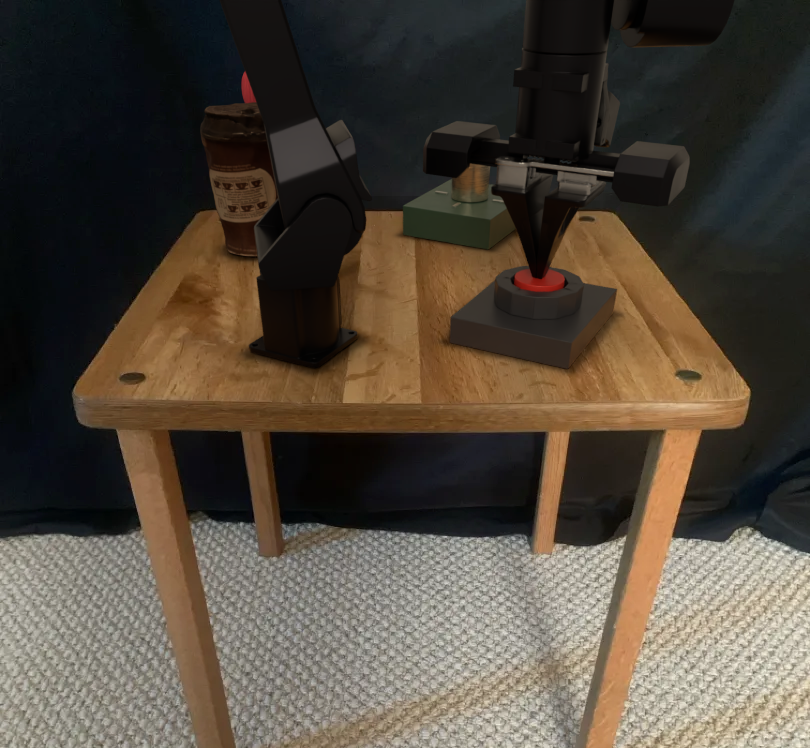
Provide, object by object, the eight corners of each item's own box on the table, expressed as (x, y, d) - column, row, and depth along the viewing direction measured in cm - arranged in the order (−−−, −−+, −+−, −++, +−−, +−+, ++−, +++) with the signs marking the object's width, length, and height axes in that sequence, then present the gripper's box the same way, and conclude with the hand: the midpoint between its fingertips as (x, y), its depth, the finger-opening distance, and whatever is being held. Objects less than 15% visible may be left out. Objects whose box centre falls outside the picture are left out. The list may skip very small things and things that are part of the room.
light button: (552, 311, 62) (555, 289, 61) (505, 301, 64) (507, 280, 62) (568, 294, 65) (571, 273, 64) (523, 285, 66) (525, 265, 65)
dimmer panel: (488, 249, 81) (490, 217, 79) (402, 234, 84) (402, 204, 82) (530, 218, 89) (533, 188, 87) (450, 205, 93) (451, 177, 91)
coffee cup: (285, 266, 77) (271, 118, 69) (204, 261, 78) (181, 114, 70) (308, 237, 84) (297, 99, 76) (233, 233, 85) (215, 97, 77)
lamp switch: (568, 369, 60) (575, 319, 57) (449, 342, 63) (451, 294, 61) (613, 313, 68) (621, 267, 66) (505, 292, 72) (509, 248, 69)
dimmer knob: (479, 204, 83) (481, 160, 80) (444, 199, 84) (446, 155, 82) (494, 195, 86) (497, 152, 83) (460, 190, 87) (462, 147, 84)
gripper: (728, 44, 55) (679, 265, 65) (485, 29, 62) (473, 231, 72) (694, 66, 48) (644, 312, 58) (421, 45, 55) (418, 269, 64)
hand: (539, 276), depth 63 cm, fingers closed, pressing on light button
